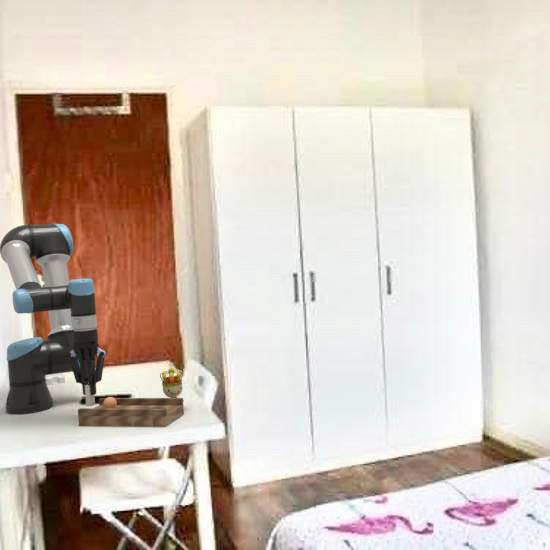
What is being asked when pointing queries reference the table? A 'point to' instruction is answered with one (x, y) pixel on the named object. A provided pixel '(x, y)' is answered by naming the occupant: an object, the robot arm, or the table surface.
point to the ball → (110, 402)
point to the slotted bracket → (55, 378)
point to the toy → (172, 383)
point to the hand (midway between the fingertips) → (90, 405)
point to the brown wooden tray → (133, 412)
